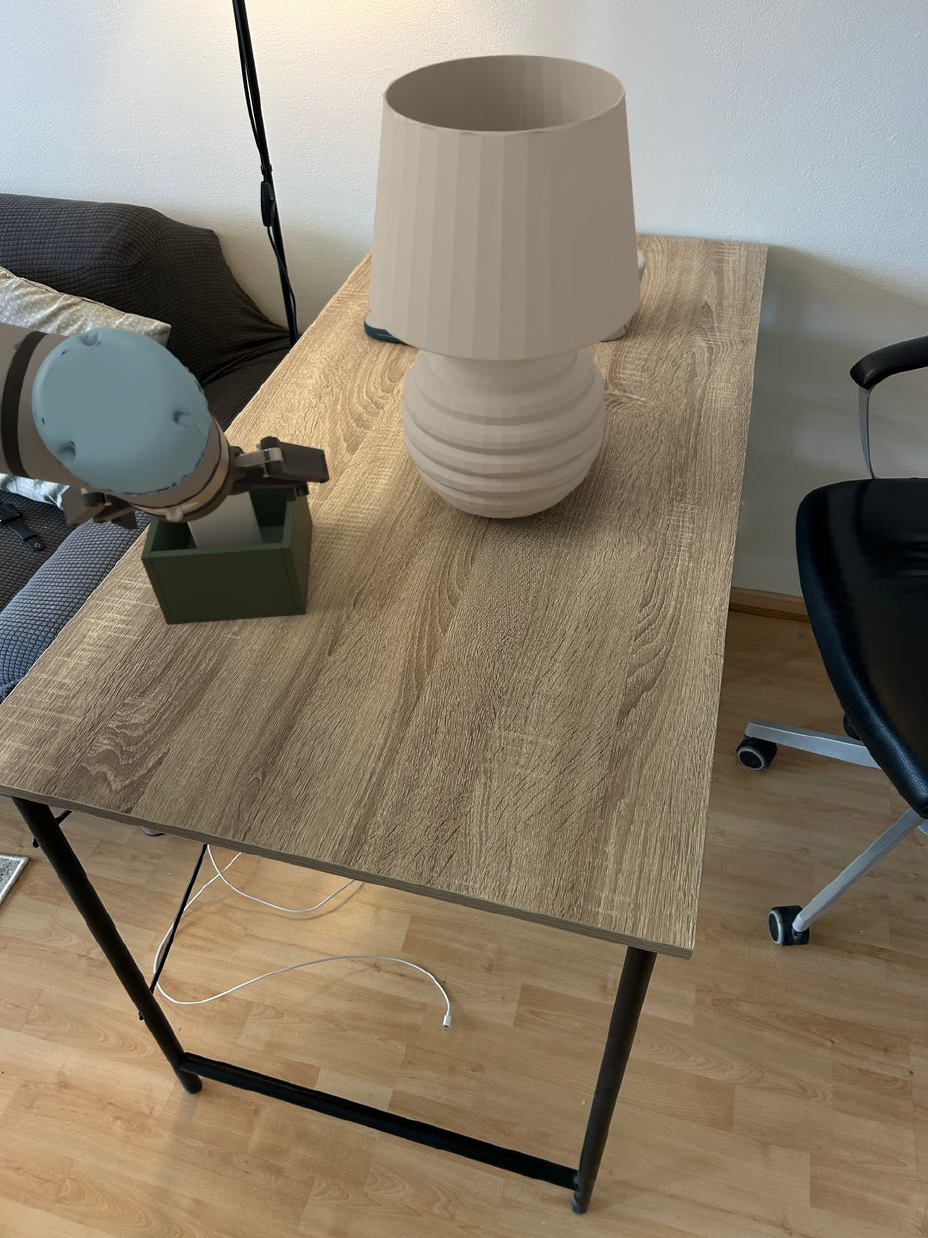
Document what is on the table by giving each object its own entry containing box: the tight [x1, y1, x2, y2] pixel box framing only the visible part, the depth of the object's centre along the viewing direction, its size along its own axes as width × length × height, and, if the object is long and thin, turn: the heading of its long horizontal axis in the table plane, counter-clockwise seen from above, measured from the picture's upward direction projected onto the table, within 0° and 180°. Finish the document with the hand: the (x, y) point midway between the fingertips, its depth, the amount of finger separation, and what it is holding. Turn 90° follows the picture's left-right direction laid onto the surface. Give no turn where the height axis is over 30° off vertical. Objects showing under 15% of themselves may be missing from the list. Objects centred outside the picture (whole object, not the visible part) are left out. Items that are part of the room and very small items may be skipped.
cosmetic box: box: [188, 492, 264, 549], centre depth 87 cm, size 6×4×12 cm
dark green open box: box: [140, 488, 314, 625], centre depth 89 cm, size 14×14×9 cm
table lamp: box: [367, 53, 641, 520], centre depth 86 cm, size 25×25×40 cm
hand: (210, 499), depth 78 cm, fingers open, 13 cm apart
